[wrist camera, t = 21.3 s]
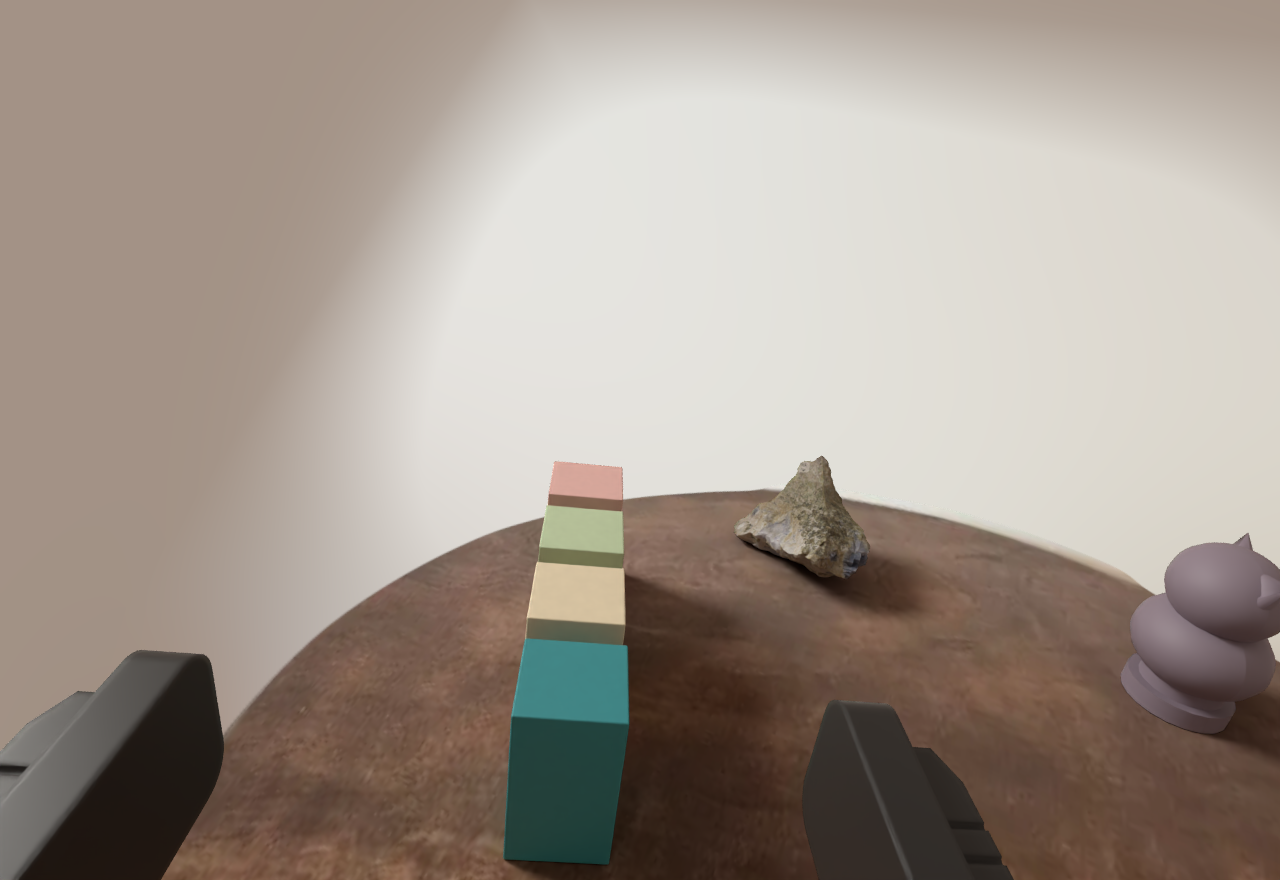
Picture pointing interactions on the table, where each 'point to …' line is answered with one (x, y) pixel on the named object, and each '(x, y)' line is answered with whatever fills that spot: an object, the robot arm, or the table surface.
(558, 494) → the line block
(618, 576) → the line block
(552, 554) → the line block
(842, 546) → the rock
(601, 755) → the teal block
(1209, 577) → the cat figurine
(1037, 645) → the table surface
